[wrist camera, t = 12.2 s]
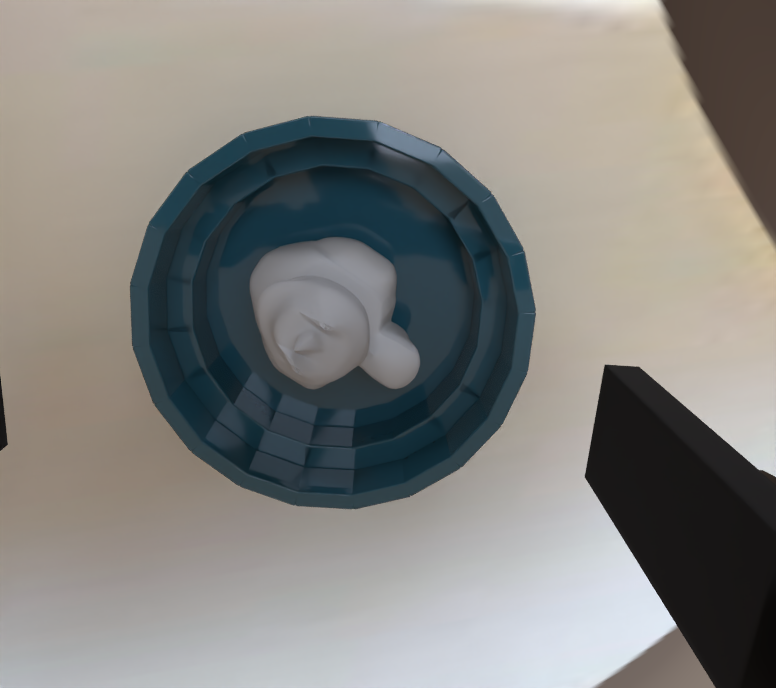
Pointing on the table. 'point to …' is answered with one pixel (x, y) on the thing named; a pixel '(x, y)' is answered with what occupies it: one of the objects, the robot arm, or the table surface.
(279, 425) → the bowl
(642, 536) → the robot arm
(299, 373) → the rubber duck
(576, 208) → the table surface
